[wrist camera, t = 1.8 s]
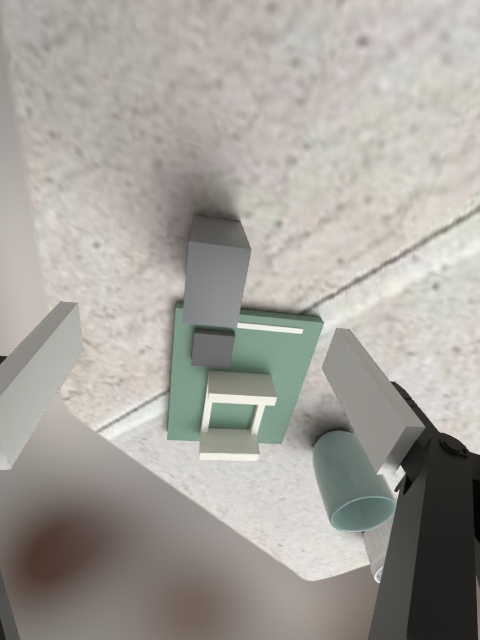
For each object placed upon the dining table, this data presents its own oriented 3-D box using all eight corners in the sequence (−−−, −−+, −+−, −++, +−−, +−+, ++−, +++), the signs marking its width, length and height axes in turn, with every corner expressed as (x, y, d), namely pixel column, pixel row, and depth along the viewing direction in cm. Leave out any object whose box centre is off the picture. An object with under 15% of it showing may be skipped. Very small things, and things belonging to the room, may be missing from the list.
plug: (194, 214, 25) (188, 241, 19) (240, 221, 26) (251, 249, 19) (188, 285, 29) (181, 330, 22) (229, 290, 29) (235, 334, 22)
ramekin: (437, 521, 58) (463, 564, 52) (380, 548, 62) (398, 591, 56) (403, 498, 53) (428, 544, 47) (343, 530, 57) (359, 576, 51)
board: (176, 302, 29) (171, 327, 25) (320, 317, 32) (336, 342, 28) (168, 432, 39) (163, 465, 35) (279, 436, 41) (287, 468, 37)
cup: (297, 453, 43) (318, 529, 35) (321, 417, 40) (352, 492, 31) (342, 460, 45) (373, 535, 37) (370, 426, 42) (411, 500, 33)
